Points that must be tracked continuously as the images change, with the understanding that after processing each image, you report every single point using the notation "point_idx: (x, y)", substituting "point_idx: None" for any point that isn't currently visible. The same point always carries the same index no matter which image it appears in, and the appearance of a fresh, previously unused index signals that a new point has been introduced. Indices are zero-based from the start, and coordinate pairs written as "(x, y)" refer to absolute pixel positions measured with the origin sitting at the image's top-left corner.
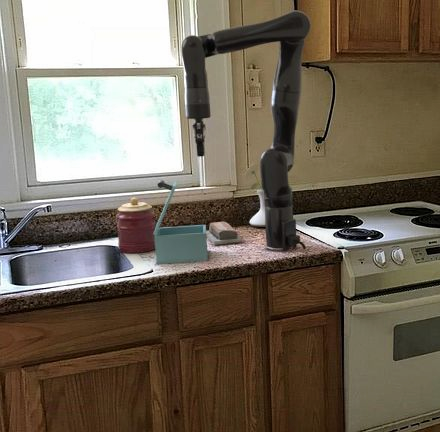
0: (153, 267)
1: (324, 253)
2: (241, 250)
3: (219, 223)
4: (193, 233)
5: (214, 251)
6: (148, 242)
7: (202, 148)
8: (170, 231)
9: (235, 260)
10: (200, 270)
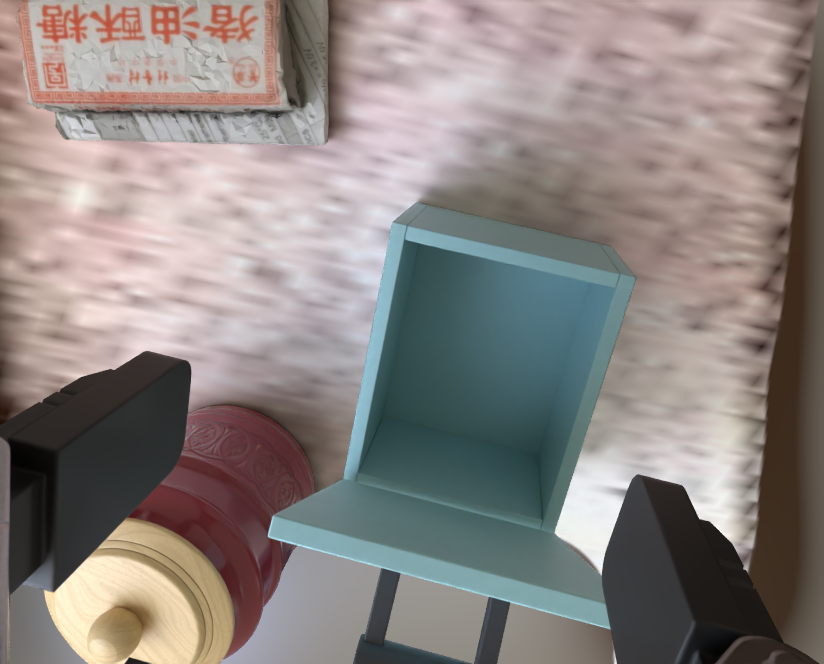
0: (591, 482)
1: None
2: (496, 22)
3: (68, 51)
4: (601, 343)
5: (445, 170)
6: (291, 468)
7: (761, 608)
8: (372, 413)
9: (687, 109)
10: (767, 315)
